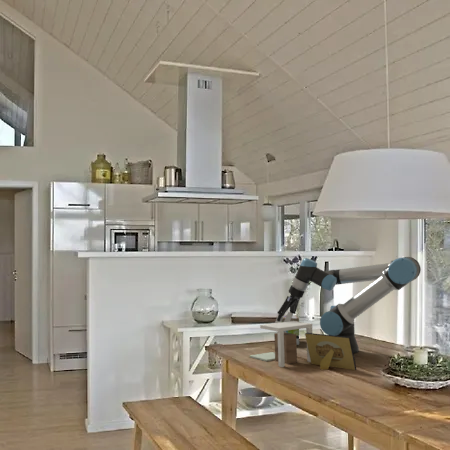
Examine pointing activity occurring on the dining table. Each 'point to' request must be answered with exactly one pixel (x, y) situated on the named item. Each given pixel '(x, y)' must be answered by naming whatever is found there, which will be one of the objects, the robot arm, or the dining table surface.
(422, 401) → the dining table surface
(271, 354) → the mat
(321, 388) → the dining table surface
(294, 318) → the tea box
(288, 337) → the walnut block
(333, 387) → the dining table surface
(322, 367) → the picture frame
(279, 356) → the small white table
